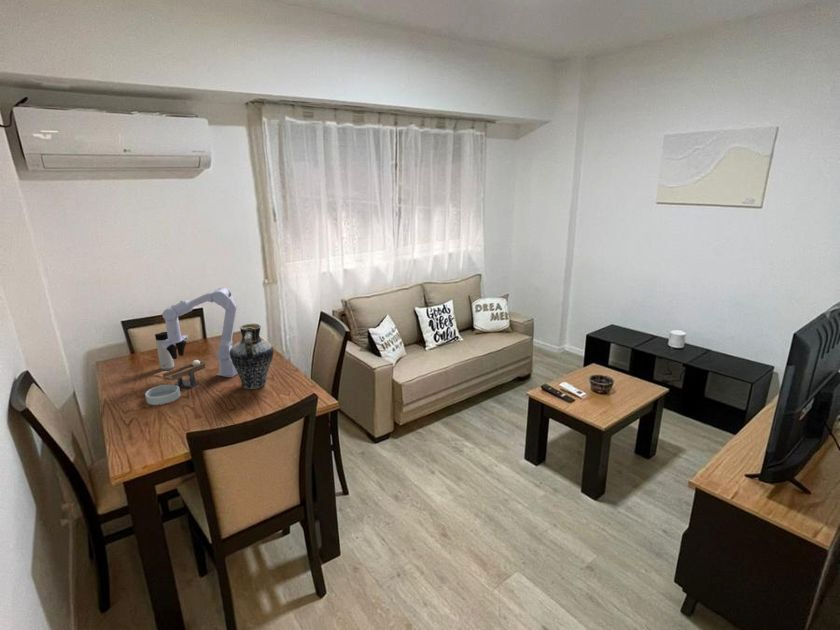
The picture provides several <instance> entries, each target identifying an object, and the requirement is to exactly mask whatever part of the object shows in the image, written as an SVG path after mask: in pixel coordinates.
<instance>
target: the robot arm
mask: <svg viewBox="0 0 840 630" xmlns="http://www.w3.org/2000/svg"><path fill="white" fill-rule="evenodd" d="M206 302H209V303H215V304H216V305H218V306H220V307H222V308H223V309H224V310H225V312H224V319H223V324H222V325H223V326H222V332H221V338H220V339H221V340H220V343H219V347H218V349H217V351H216V352H215V353H216V357H217V359H218V366H219V372H218V373H216V376H220V377H221V376H222V377H226V378H233V377H236V376H237V375H238V372H237V370H236V369H235V367H234V365H233V363H232V360H231V357H230V349H231V348H232V347H233V346H234V344H233V334H234V328H235V323H236V321H235V320H236V315H237V308H238V305H237V303H236V300H235V298H234V297H233V292H231V291H230V290H229V288H227V287H219V288H218V289H217V288H215V289H213V290H211V291H208V292H206V293H203V294H201V295H200V296H198V297H196V298H193V299H191V300H187V299H185V300H184V299H182V300H180V301H179V303H177V304H171V305H170V306H169V307H167V308H166V309H164V310H163V312H162V314H161V315H162V316H161V317H162V318H163V319H164V321H165V327H166V328H165V329H166V332H167V335H168V339H167V342H165V343H164V344H162V348H164V349H167V350H168V351H169V353H170V355H171V357H172V359H173V360H177V359H178V356H180V357H183V356H184V352H185V348H186V345H187V344H188V343H187V340H188V339H189V336H188V334H183V335H182V333H181V326H180V321H179V317H181V316H183V315H185V314H187V313H190V312H192V311H193V309H194V307H197V306H199V305H201V304H204V303H206ZM177 354H178V355H177Z"/></svg>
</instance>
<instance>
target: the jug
mask: <svg viewBox="0 0 840 630" xmlns="http://www.w3.org/2000/svg"><path fill="white" fill-rule="evenodd" d="M261 327H262V326H261V325H260V324H258V323H247V324H243V325H241V326H239V331H240V333H241V340H240V341H239V342H237V343H235V344H233V347H232V348H231V349H230V357H231V360H232V363H233V365H234V367H235V369H236V370H237V372H238V374H237V375H238V376H239V380H240V382H241V386H242V388H244V389H247V390H256V389H259V388H262V387H263V386H265V385H266V382H267V375H268V372H269V369H270V365H271V364H272V361H273V358H274V357H273V356H274V347H273V345H272V343H270V342H268V341H266V340H263V339H261V336H260V333H261Z"/></svg>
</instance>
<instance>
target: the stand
mask: <svg viewBox="0 0 840 630" xmlns="http://www.w3.org/2000/svg"><path fill="white" fill-rule="evenodd" d="M176 380H177V382H175V383H173V385H177V386H178V387H179V388H180V387H181V388H188V389H193V388H194V387H197V386H198V385H200V381H196V377H195V372H193V371H192V372H190V373H189V380H188V379H183V377H181V378H179V379H176Z"/></svg>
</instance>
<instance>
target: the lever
mask: <svg viewBox="0 0 840 630" xmlns="http://www.w3.org/2000/svg"><path fill="white" fill-rule="evenodd" d="M197 360H198V359H197ZM198 361H200V365H197V366H195V367H194V366H193V365H192V363H193V362H192V363H189V364H186V365H184V366H180V367H178V368H174V369H171V370H167V371H163V370H161V371H159V372H157V373H154V374H153V378H159V379H163V380H167V381H176V380H177V379H179V378H181V377H182V378H184V377H186V376H189V373H190V372H192V371H193V372H194V373H196V372H198V371H201V370H205V369H206V363H205V361H204V360H198ZM189 377H190V376H189Z"/></svg>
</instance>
